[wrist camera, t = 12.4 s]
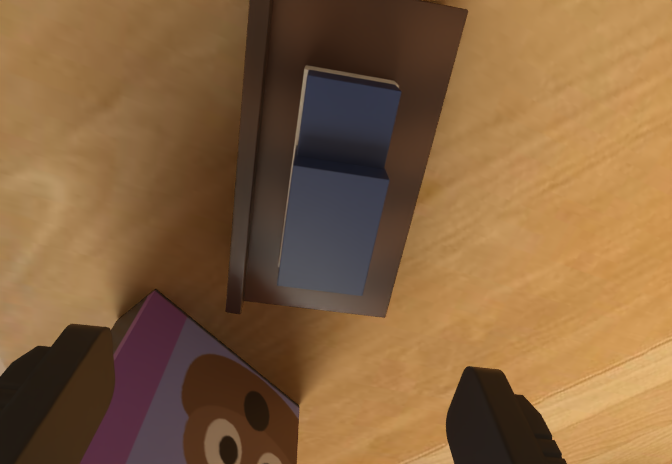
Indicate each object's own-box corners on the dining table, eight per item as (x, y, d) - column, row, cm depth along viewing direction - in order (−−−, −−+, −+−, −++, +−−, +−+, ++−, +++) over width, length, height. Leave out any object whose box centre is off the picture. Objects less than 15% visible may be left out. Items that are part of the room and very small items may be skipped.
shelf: (266, -26, 27) (252, -35, 21) (445, 8, 28) (477, 10, 22) (240, 262, 36) (225, 312, 30) (377, 279, 37) (388, 331, 31)
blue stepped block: (305, 64, 24) (301, 78, 20) (395, 80, 25) (411, 97, 20) (279, 256, 30) (272, 300, 25) (354, 265, 30) (360, 311, 26)
